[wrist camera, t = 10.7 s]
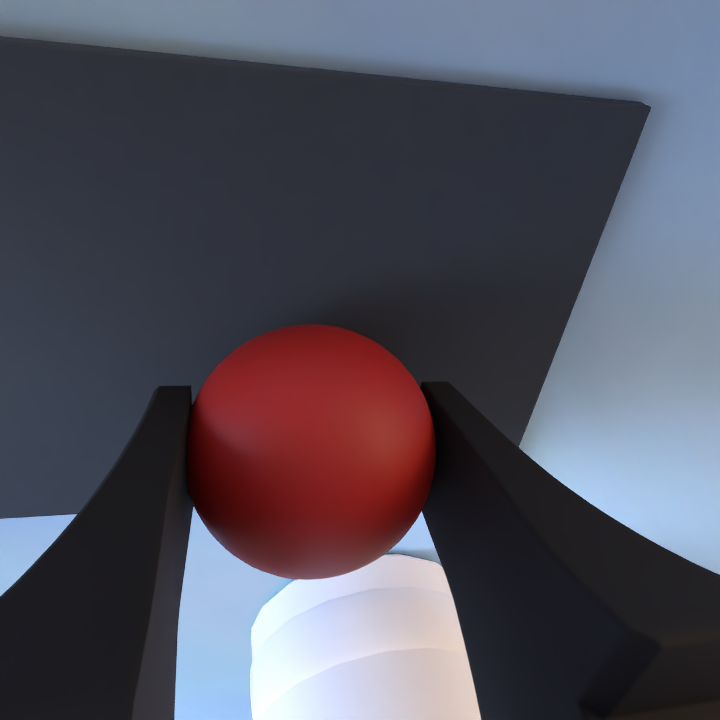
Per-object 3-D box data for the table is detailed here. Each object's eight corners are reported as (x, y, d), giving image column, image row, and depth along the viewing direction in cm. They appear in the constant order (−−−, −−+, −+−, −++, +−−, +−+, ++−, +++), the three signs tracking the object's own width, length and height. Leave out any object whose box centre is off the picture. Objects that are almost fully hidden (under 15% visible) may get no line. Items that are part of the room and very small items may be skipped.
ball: (191, 453, 15) (182, 647, 11) (183, 275, 12) (166, 453, 8) (384, 445, 16) (439, 618, 12) (419, 281, 13) (505, 439, 9)
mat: (-97, 513, 15) (-104, 525, 14) (-343, 0, 8) (-365, 3, 8) (498, 478, 18) (503, 488, 18) (641, 101, 12) (653, 107, 12)
